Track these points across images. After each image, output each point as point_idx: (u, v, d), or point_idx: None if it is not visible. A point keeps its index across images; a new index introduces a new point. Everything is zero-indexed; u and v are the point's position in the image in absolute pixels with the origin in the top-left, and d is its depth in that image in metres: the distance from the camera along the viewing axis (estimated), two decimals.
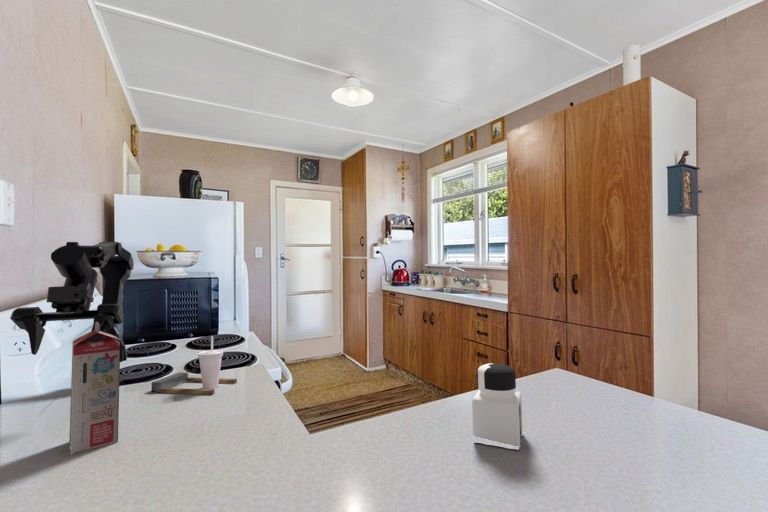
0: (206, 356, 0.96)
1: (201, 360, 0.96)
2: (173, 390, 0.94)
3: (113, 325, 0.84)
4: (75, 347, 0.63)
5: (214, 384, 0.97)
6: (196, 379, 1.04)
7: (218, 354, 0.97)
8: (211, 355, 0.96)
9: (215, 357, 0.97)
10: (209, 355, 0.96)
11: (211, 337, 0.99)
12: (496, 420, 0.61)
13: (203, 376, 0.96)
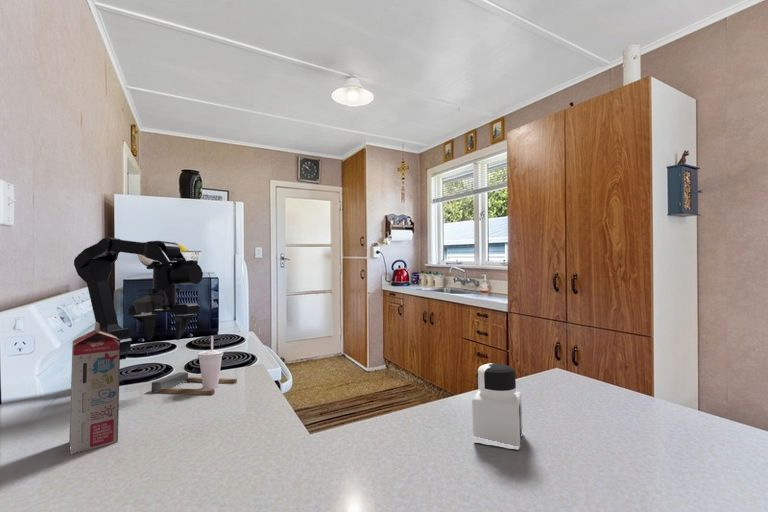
0: (206, 356, 0.96)
1: (201, 360, 0.96)
2: (173, 390, 0.94)
3: None
4: (75, 347, 0.63)
5: (214, 384, 0.97)
6: (196, 379, 1.04)
7: (218, 354, 0.97)
8: (211, 355, 0.96)
9: (215, 357, 0.97)
10: (209, 355, 0.96)
11: (211, 337, 0.99)
12: (496, 420, 0.61)
13: (203, 376, 0.96)
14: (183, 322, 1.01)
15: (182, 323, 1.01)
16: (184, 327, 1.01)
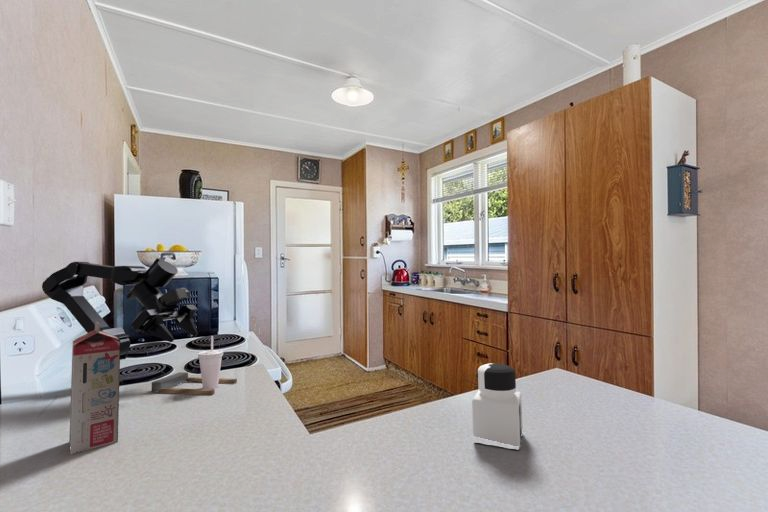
0: (206, 356, 0.96)
1: (201, 360, 0.96)
2: (173, 390, 0.94)
3: None
4: (75, 347, 0.63)
5: (214, 384, 0.97)
6: (196, 379, 1.04)
7: (218, 354, 0.97)
8: (211, 355, 0.96)
9: (215, 357, 0.97)
10: (209, 355, 0.96)
11: (211, 337, 0.99)
12: (496, 420, 0.61)
13: (203, 376, 0.96)
14: None
15: None
16: None
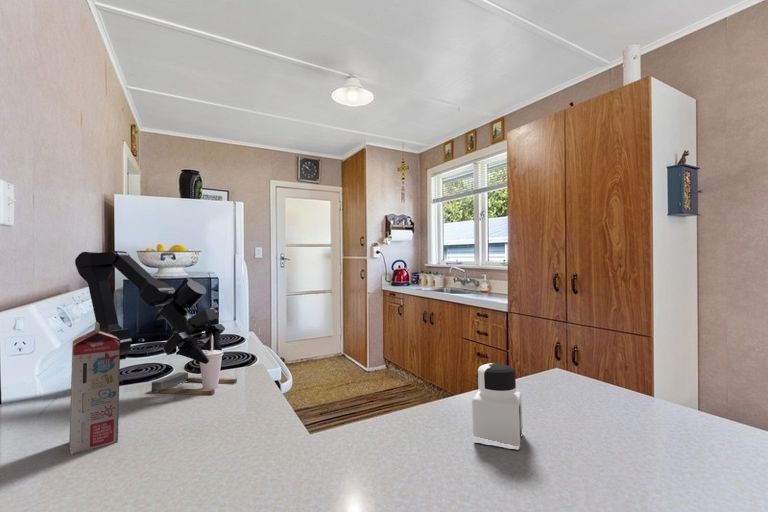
0: (206, 356, 0.96)
1: None
2: (173, 390, 0.94)
3: None
4: (75, 347, 0.63)
5: (214, 384, 0.97)
6: (196, 379, 1.04)
7: (218, 354, 0.97)
8: (211, 355, 0.96)
9: (215, 357, 0.97)
10: (209, 355, 0.96)
11: (211, 337, 0.99)
12: (496, 420, 0.61)
13: (203, 376, 0.96)
14: None
15: None
16: None
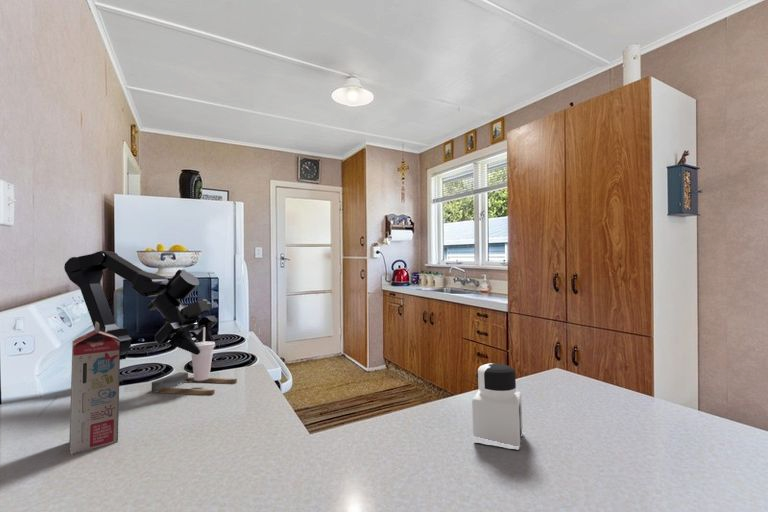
0: (198, 347, 0.96)
1: None
2: (173, 390, 0.94)
3: None
4: (75, 347, 0.63)
5: (205, 375, 0.98)
6: None
7: (210, 345, 0.98)
8: (203, 346, 0.97)
9: (207, 348, 0.97)
10: (201, 346, 0.96)
11: (203, 328, 1.00)
12: (496, 420, 0.61)
13: (194, 367, 0.97)
14: None
15: None
16: None
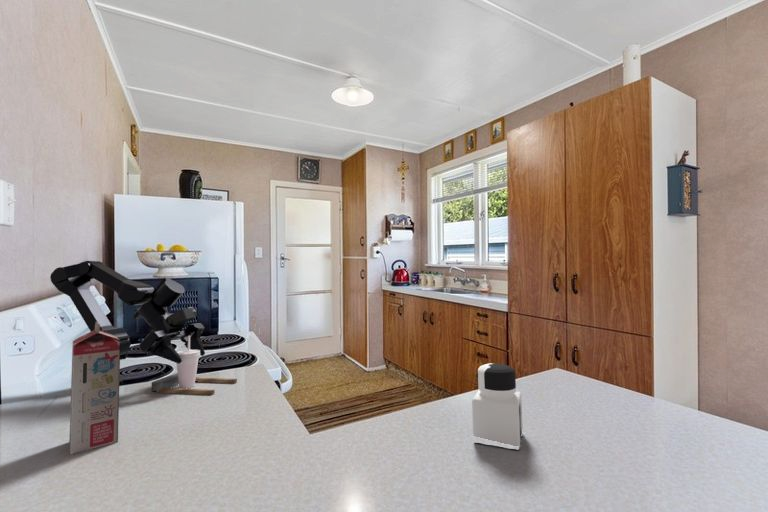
0: (182, 355, 0.97)
1: None
2: (173, 390, 0.94)
3: None
4: (75, 347, 0.63)
5: (190, 384, 0.98)
6: (196, 379, 1.04)
7: (194, 354, 0.99)
8: (187, 355, 0.97)
9: (191, 356, 0.98)
10: (185, 355, 0.97)
11: (188, 337, 1.01)
12: (496, 420, 0.61)
13: (179, 375, 0.98)
14: None
15: None
16: None
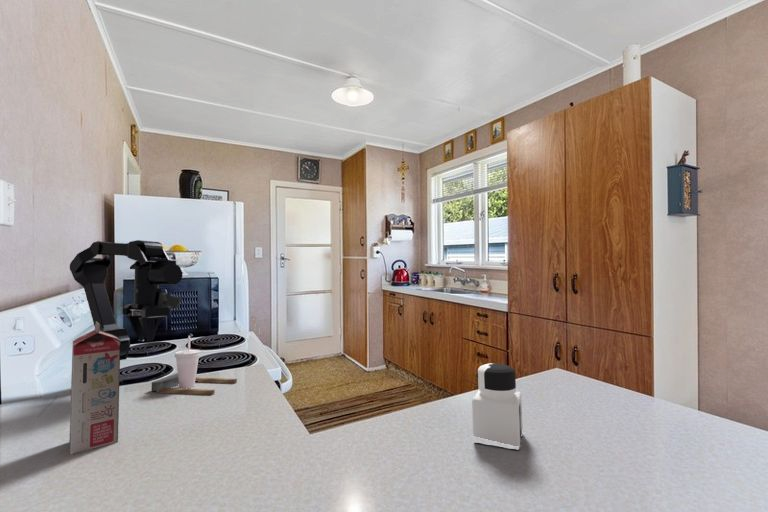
0: (182, 355, 0.97)
1: (177, 359, 0.97)
2: (173, 390, 0.94)
3: None
4: (75, 347, 0.63)
5: (190, 384, 0.98)
6: (196, 379, 1.04)
7: (195, 353, 0.99)
8: (187, 354, 0.97)
9: (191, 356, 0.98)
10: (185, 354, 0.97)
11: (188, 337, 1.01)
12: (496, 420, 0.61)
13: (179, 375, 0.98)
14: None
15: None
16: None
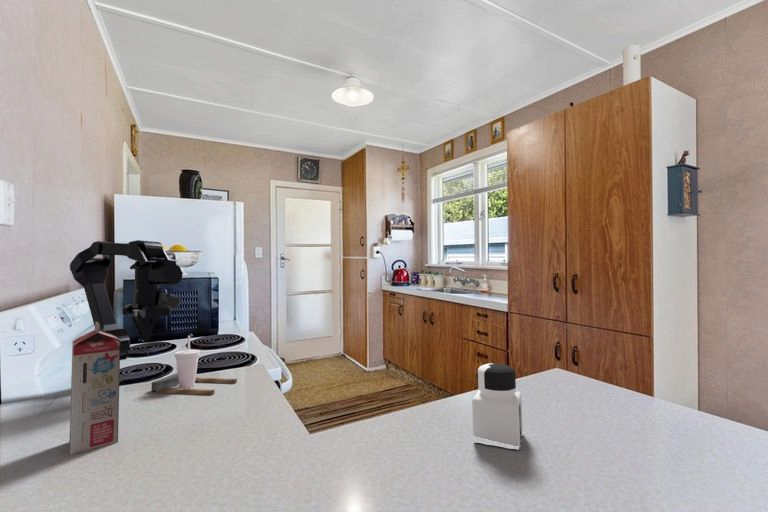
0: (182, 355, 0.97)
1: (177, 359, 0.97)
2: (173, 390, 0.94)
3: None
4: (75, 347, 0.63)
5: (190, 383, 0.98)
6: (196, 379, 1.04)
7: (194, 353, 0.99)
8: (187, 354, 0.97)
9: (191, 356, 0.98)
10: (185, 354, 0.97)
11: (188, 337, 1.01)
12: (496, 420, 0.61)
13: (179, 375, 0.98)
14: None
15: None
16: None
